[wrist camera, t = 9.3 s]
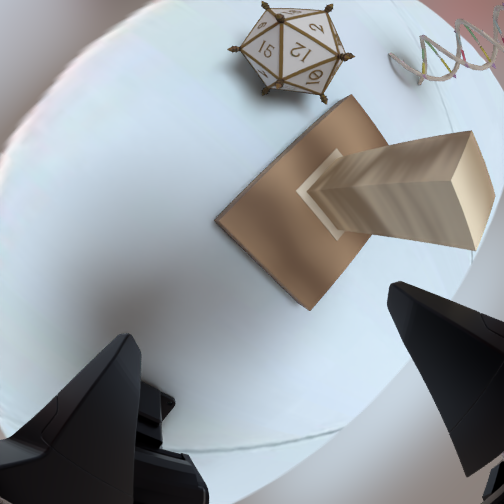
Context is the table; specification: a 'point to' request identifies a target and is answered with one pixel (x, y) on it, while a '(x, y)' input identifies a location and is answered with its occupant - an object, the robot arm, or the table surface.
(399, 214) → the maple pillar
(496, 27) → the dna model
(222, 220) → the walnut slab
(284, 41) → the game die
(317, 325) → the table surface
